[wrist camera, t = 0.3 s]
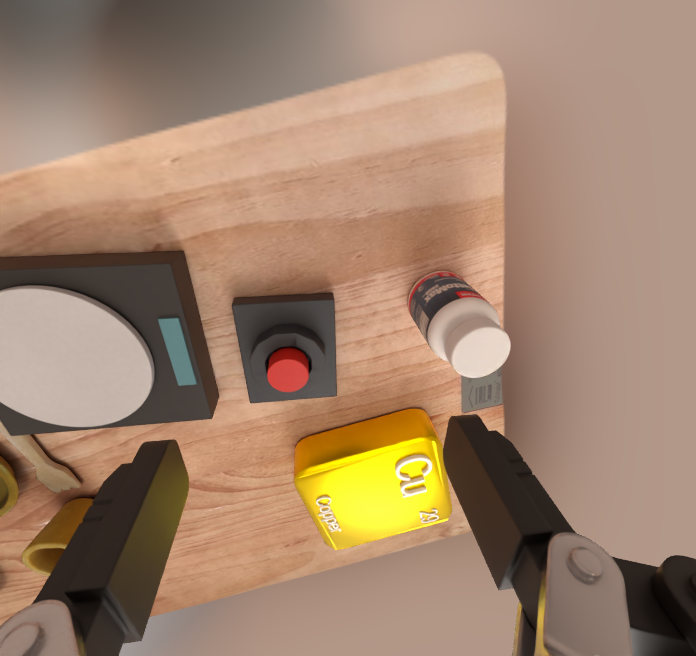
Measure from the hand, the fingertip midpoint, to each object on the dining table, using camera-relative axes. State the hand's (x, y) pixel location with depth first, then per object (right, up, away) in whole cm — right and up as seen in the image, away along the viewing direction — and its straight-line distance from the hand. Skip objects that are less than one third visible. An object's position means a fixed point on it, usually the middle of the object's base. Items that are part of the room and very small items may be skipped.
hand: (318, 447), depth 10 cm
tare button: (-4, +1, +18) cm, 18 cm away
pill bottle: (+9, +6, +20) cm, 22 cm away
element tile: (+4, -12, +29) cm, 32 cm away
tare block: (-4, +2, +20) cm, 21 cm away
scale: (-19, +3, +18) cm, 26 cm away
